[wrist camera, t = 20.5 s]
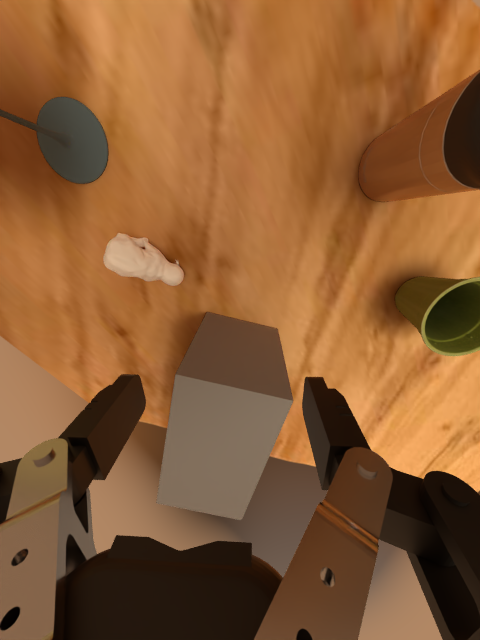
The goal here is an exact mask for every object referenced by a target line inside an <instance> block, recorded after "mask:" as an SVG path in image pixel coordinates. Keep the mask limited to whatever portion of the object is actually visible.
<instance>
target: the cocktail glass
mask: <svg viewBox="0 0 480 640" xmlns="http://www.w3.org/2000/svg"><path fill="white" fill-rule="evenodd" d="M0 116H2V117H4V118H7V119H9V120H12V121H14V122H16V123H19V124H21V125H24V126H26V127H28V128H31V129H33V130H35V131H37V138H38V142H39V145H40V148H41V151H42V153H43V155H44V157H45V159H46V160H47V162H48V163H49V165H50V166H51V167H52V168H53V169H54V170H55V171H56V172H57V173H58V174H59V175H60V176H62V177H63V178H65V179H67V180H69V181H71V182H74V183H81V184H85V183H90V182H93V181H95V180H96V179H98V178H99V177H100V176H101V175H102V173H103V172H104V170H105V167H106V165H107V161H108V144H107V139H106V136H105V133H104V130H103V128H102V126H101V124H100V122H99V121H98V119H97V118H96V116H95V115H94V114H93V113H92V112H91V111H90V110H89V109H88V108H87V107H86V106H85V105H83V104H82V103H80V102H79V101H77V100H74V99H72V98H67V97H57V98H54V99H51V100H50V101H48V102H47V103H46V104H45V105H44V106H43V107H42V109H41V110H40V113H39V115H38V119H37V125H36V124H34V123H32V122H29V121H27V120H24V119H22V118H19V117H17V116H15V115H12V114H10V113H8V112H5V111H3V110H1V109H0Z"/></svg>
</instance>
